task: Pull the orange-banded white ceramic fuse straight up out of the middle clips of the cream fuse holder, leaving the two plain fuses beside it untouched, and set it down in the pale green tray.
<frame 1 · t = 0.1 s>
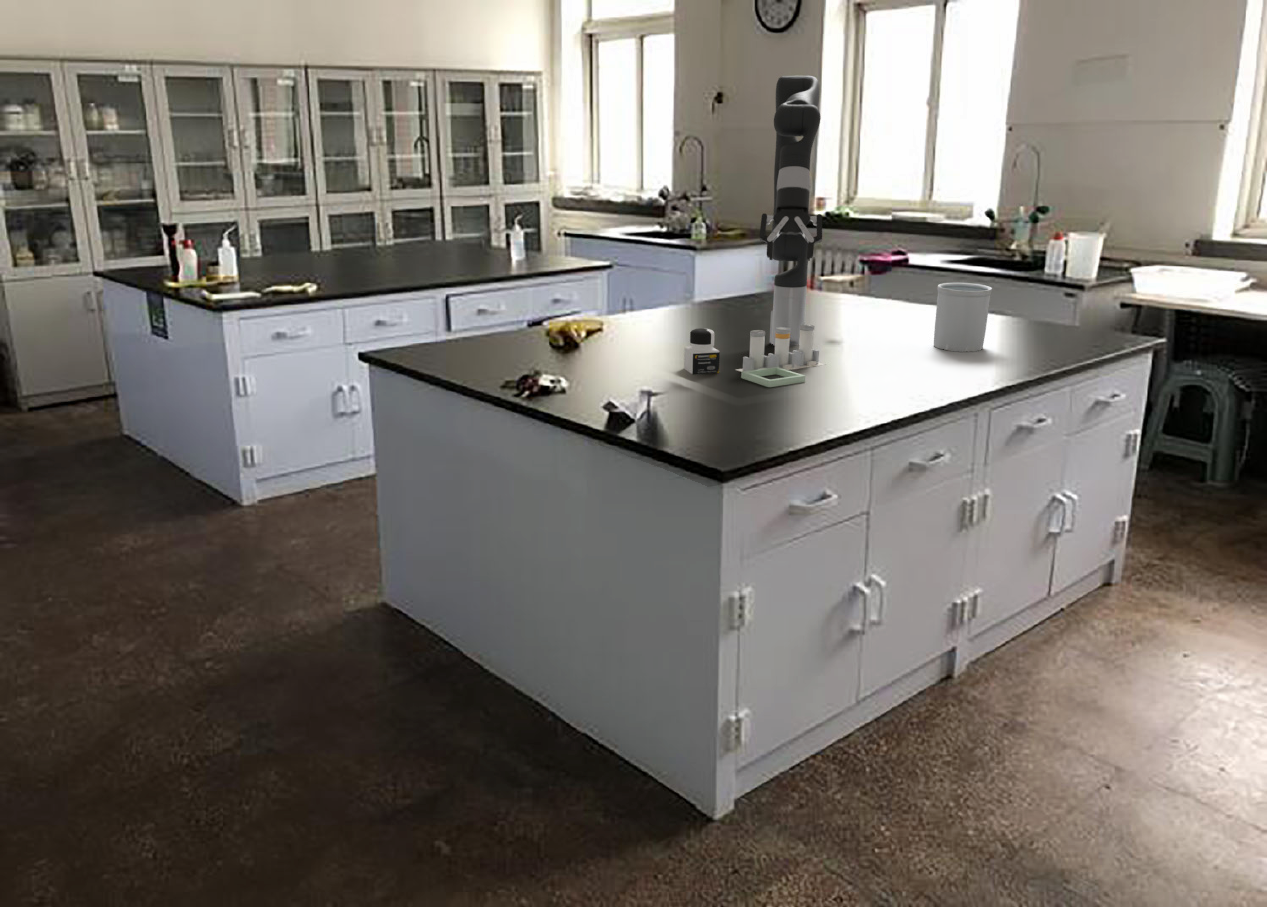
hand: (789, 259, 239), 31 cm above the countertop, tool tilted 20°, fingers open, 8 cm apart
fuse marked: (781, 367, 268), point 1 cm above the countertop, touching holder
fuse c: (805, 363, 271), point 1 cm above the countertop, touching holder
utensil holder: (958, 347, 300), on the countertop
tray: (772, 385, 255), on the countertop
fuse a: (756, 370, 264), point 1 cm above the countertop, touching holder
holder: (780, 372, 268), on the countertop
medicine bottle: (701, 377, 264), on the countertop
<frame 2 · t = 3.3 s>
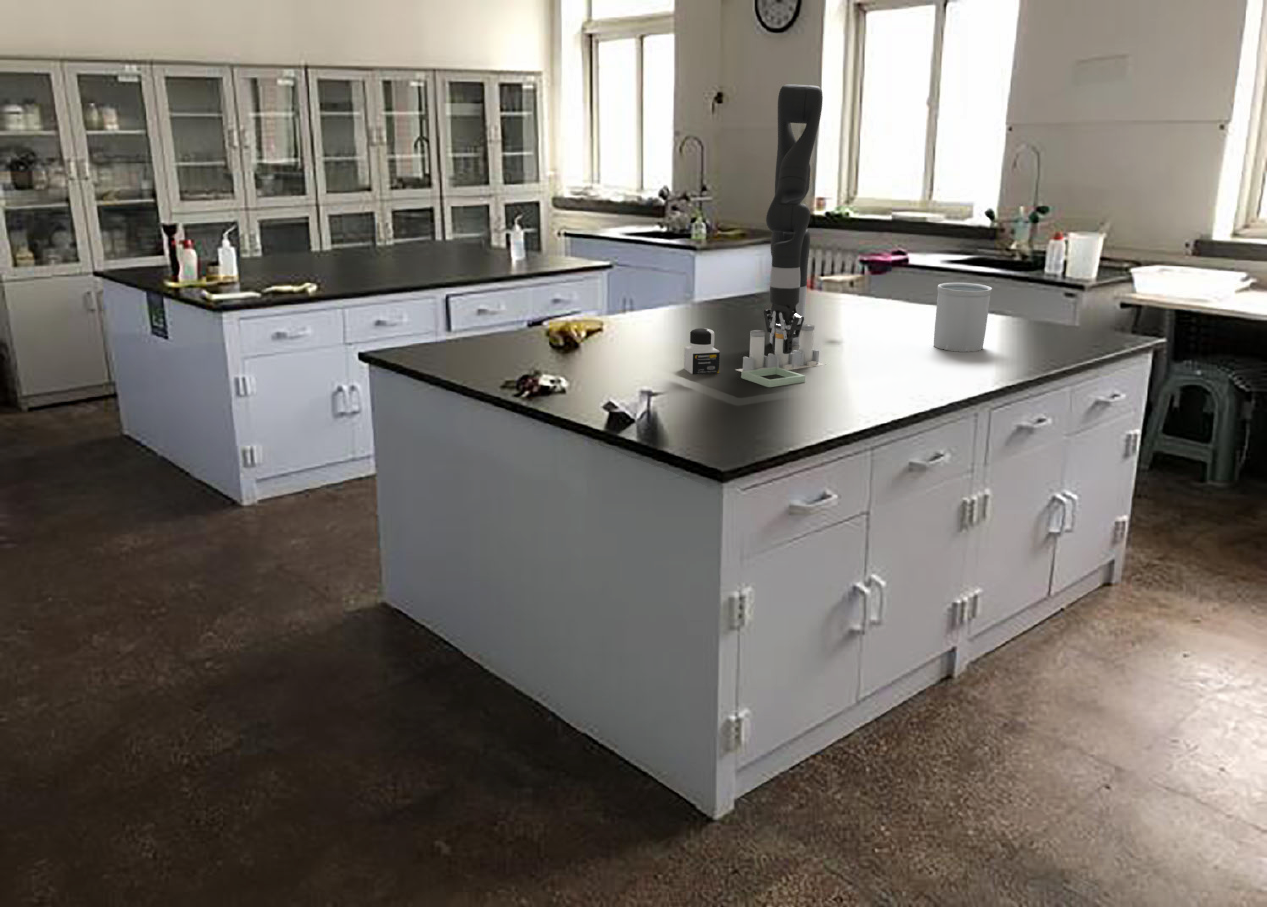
hand: (781, 351, 266), 6 cm above the countertop, tool pointing down, fingers closed on fuse marked, 3 cm apart
fuse marked: (781, 367, 268), point 2 cm above the countertop, touching gripper, holder
everything else where it was.
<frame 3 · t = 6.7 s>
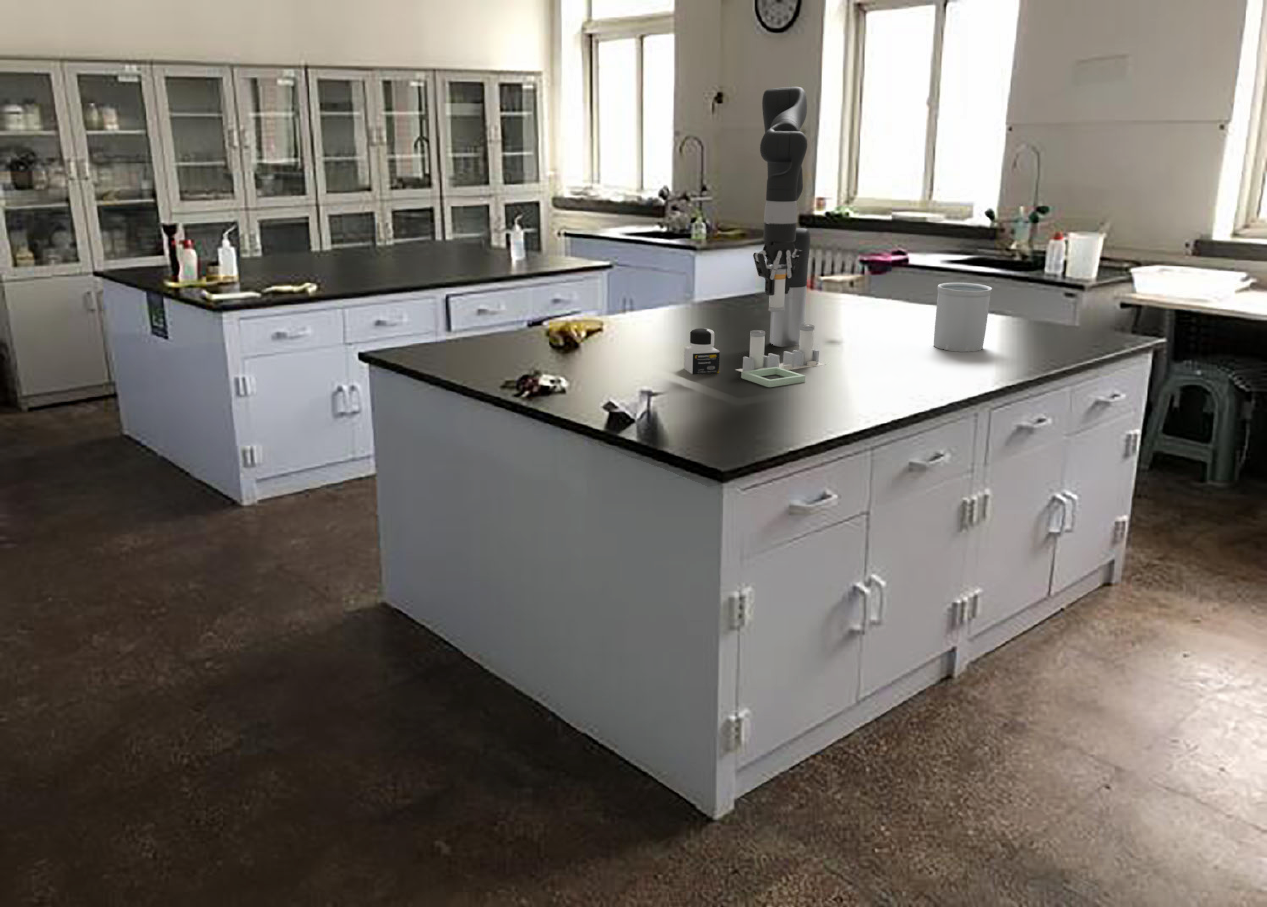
hand: (776, 294, 248), 22 cm above the countertop, tool pointing down, fingers closed on fuse marked, 3 cm apart
fuse marked: (776, 310, 249), point 18 cm above the countertop, touching gripper
everything else where it was.
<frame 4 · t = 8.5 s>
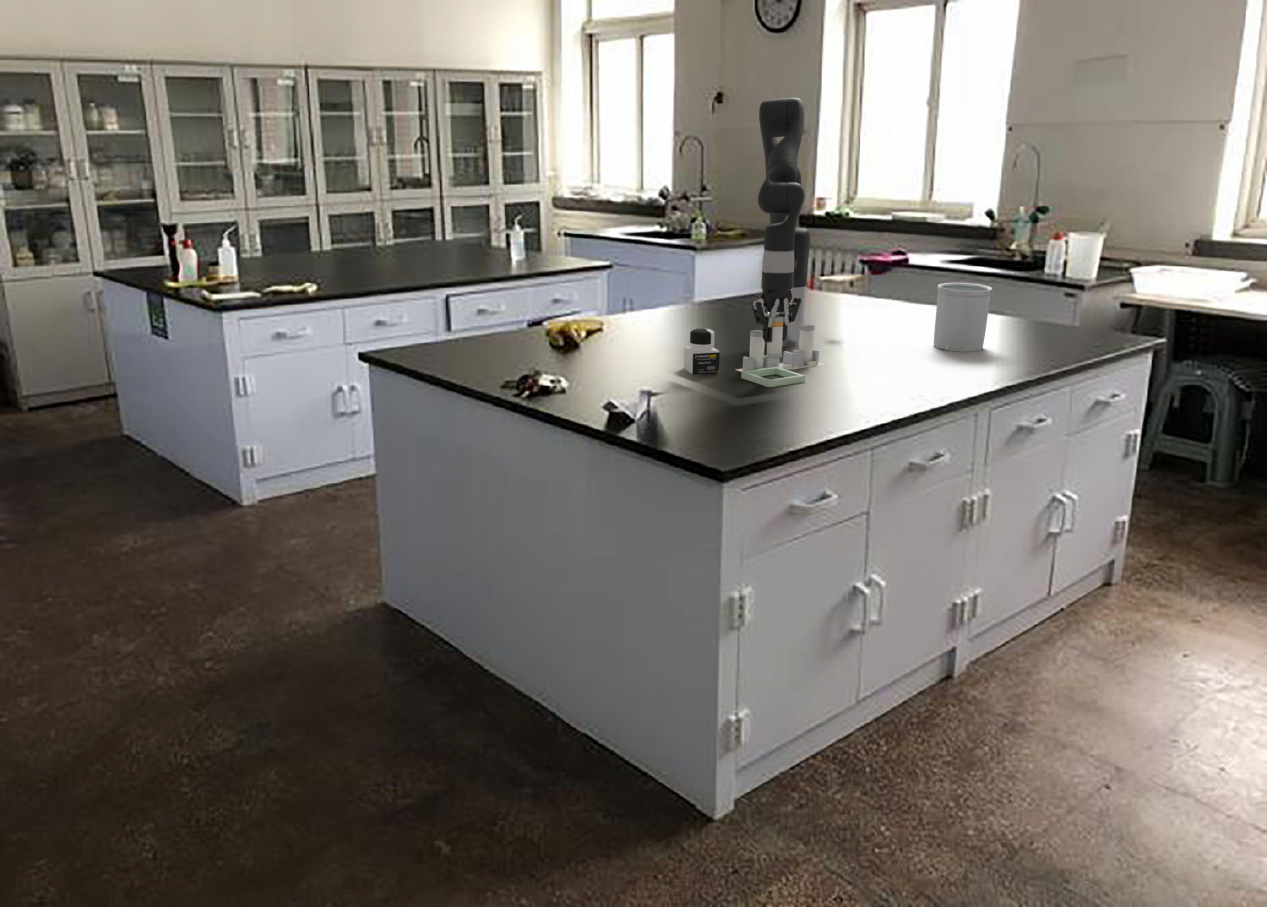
hand: (774, 340, 251), 11 cm above the countertop, tool pointing down, fingers closed on fuse marked, 3 cm apart
fuse marked: (774, 357, 252), point 7 cm above the countertop, touching gripper
everything else where it was.
when the fingers open (6 cm above the countertop, at t = 10.0 s): fuse marked stays where it is, resting on tray.
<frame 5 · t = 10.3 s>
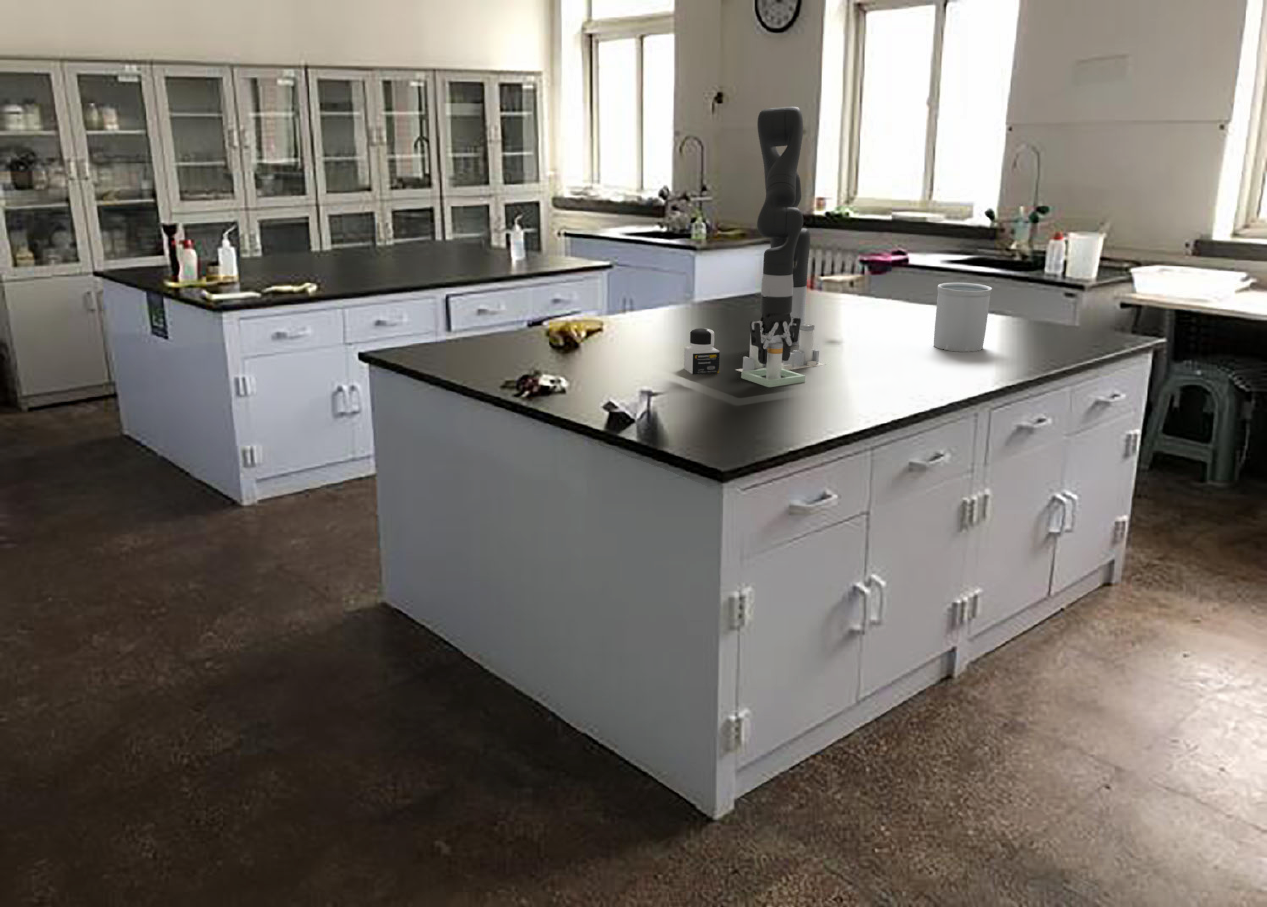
hand: (773, 361, 253), 6 cm above the countertop, tool pointing down, fingers open, 6 cm apart
fuse marked: (773, 383, 255), point 1 cm above the countertop, touching tray
everything else where it was.
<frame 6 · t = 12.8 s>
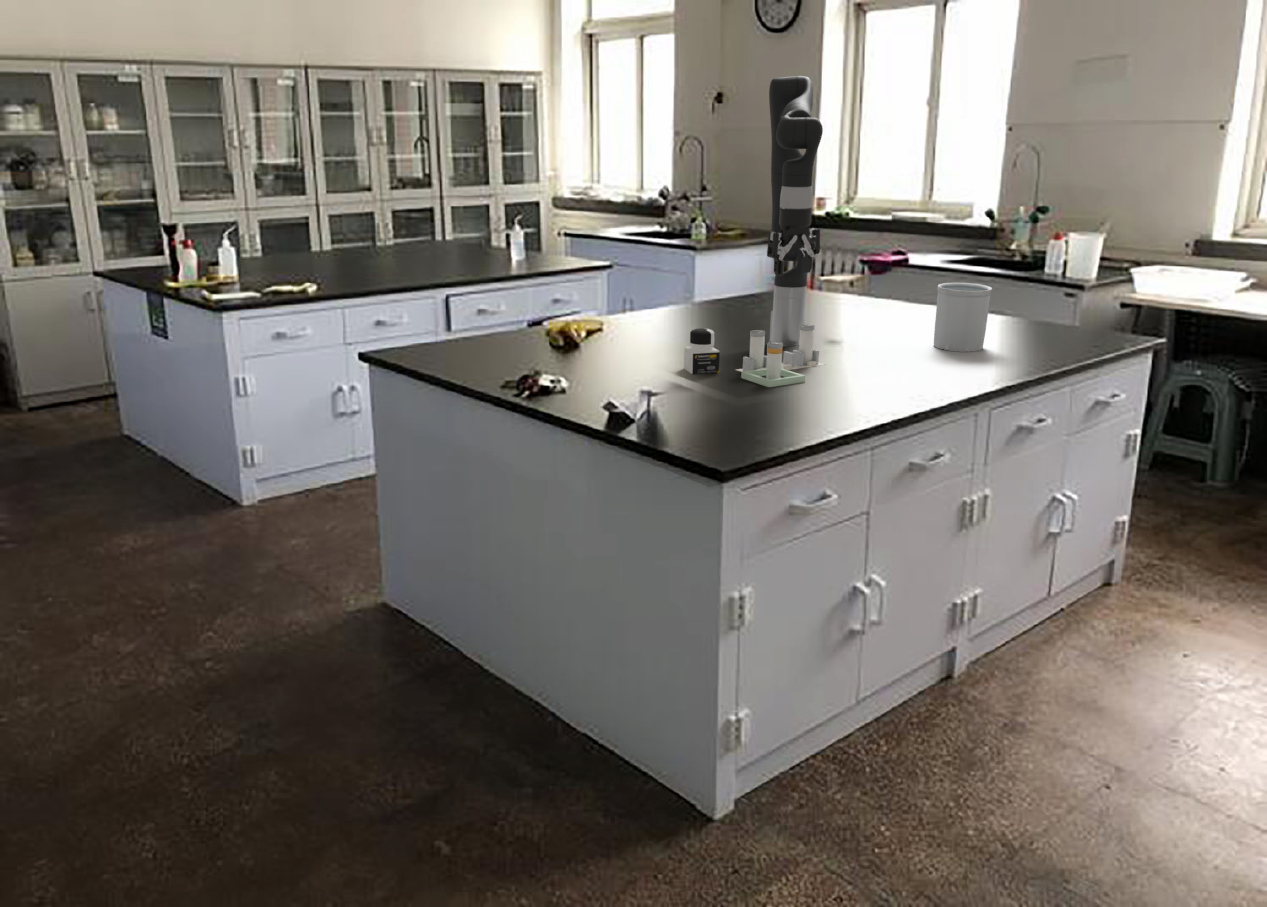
hand: (792, 273, 253), 26 cm above the countertop, tool pointing down, fingers open, 8 cm apart
nothing on the countertop moved.
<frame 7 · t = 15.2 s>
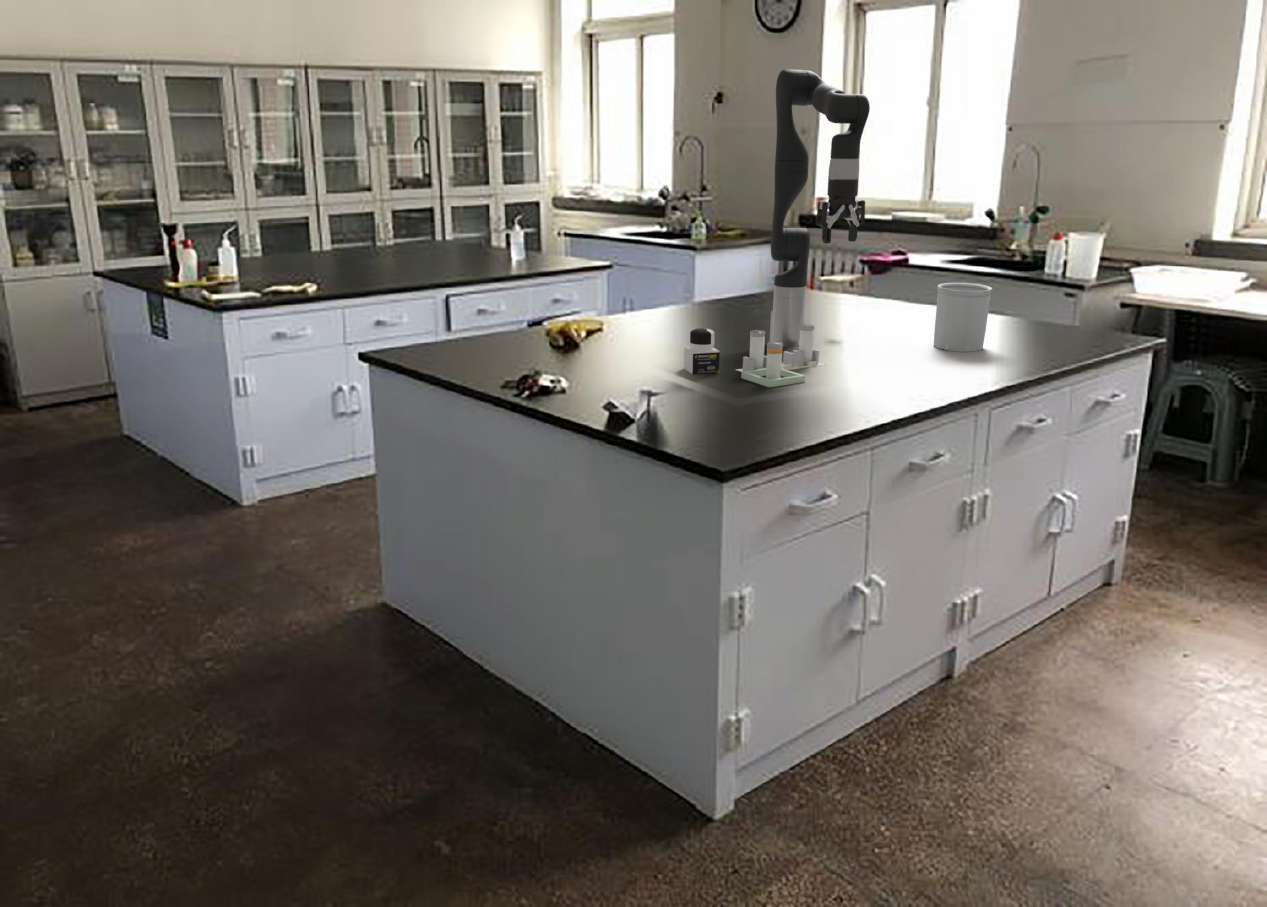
hand: (839, 242, 268), 32 cm above the countertop, tool pointing down, fingers open, 8 cm apart
nothing on the countertop moved.
at the end: fuse marked inside the target area on the tray (0.1 cm from its centre), point 0.6 cm above the tray's base; fuse a moved 0.0 cm from its start; fuse c moved 0.0 cm from its start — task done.
